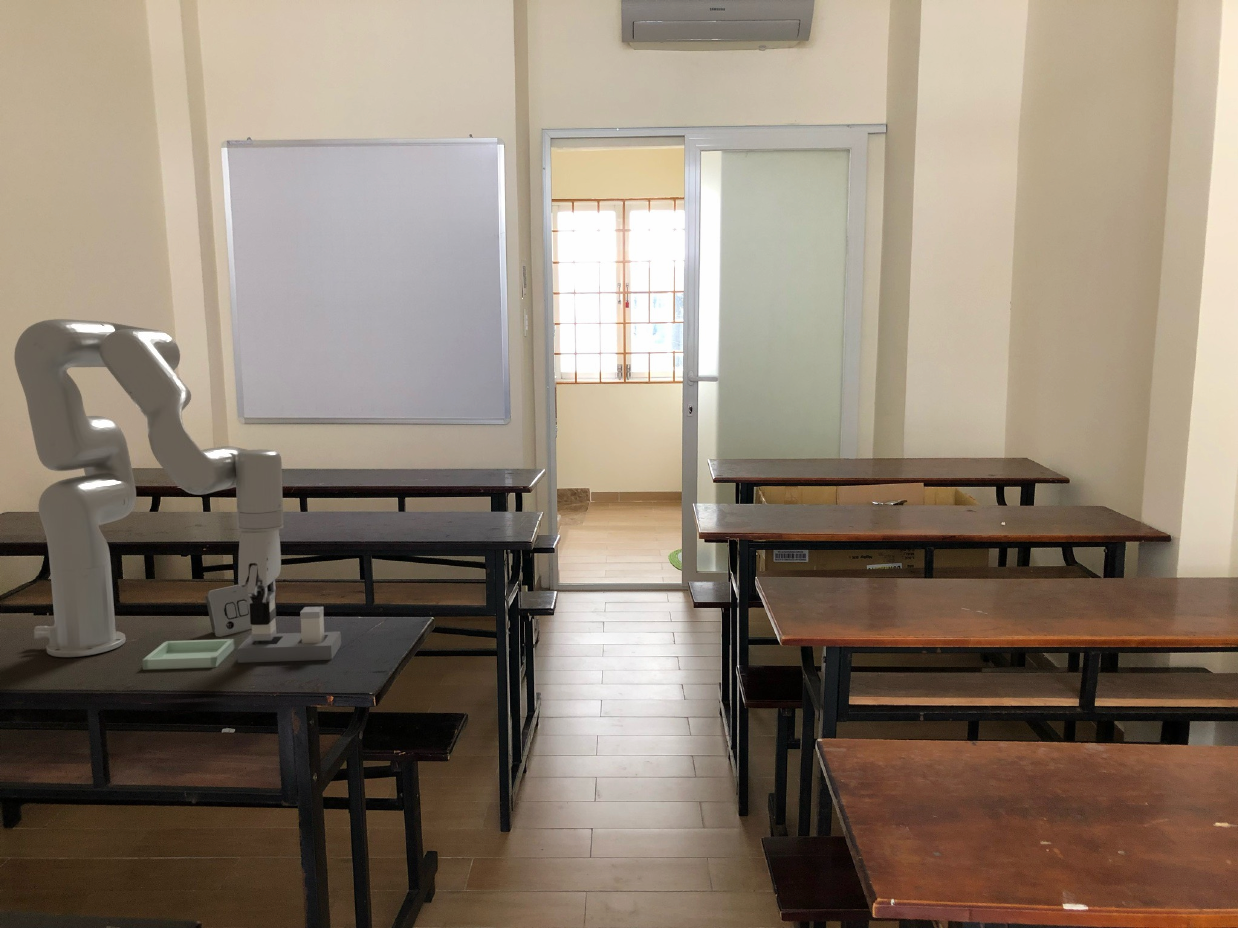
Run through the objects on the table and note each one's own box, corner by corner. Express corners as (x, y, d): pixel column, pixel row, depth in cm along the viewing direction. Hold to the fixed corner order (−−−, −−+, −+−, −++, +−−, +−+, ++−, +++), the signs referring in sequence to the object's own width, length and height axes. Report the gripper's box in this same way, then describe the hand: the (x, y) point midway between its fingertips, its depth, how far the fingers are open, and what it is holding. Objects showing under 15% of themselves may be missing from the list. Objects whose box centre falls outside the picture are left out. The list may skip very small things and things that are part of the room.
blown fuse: (251, 640, 158) (250, 596, 157) (257, 634, 162) (255, 591, 161) (271, 640, 159) (269, 596, 158) (276, 634, 162) (274, 591, 161)
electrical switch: (218, 640, 170) (213, 591, 169) (205, 637, 173) (200, 589, 173) (264, 628, 177) (259, 582, 177) (250, 625, 180) (246, 580, 180)
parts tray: (143, 672, 153) (142, 659, 152) (166, 652, 162) (165, 641, 162) (216, 669, 154) (215, 657, 154) (234, 650, 164) (234, 638, 163)
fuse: (302, 655, 159) (300, 612, 158) (306, 649, 163) (304, 606, 162) (321, 655, 160) (319, 611, 159) (325, 649, 163) (323, 606, 162)
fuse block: (237, 665, 156) (237, 648, 156) (251, 649, 164) (250, 634, 164) (331, 661, 158) (331, 645, 157) (341, 647, 166) (340, 631, 165)
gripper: (252, 511, 165) (255, 607, 167) (222, 529, 149) (226, 635, 151) (294, 511, 166) (296, 607, 168) (269, 529, 150) (272, 635, 152)
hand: (263, 619), depth 160 cm, fingers closed on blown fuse, 3 cm apart
